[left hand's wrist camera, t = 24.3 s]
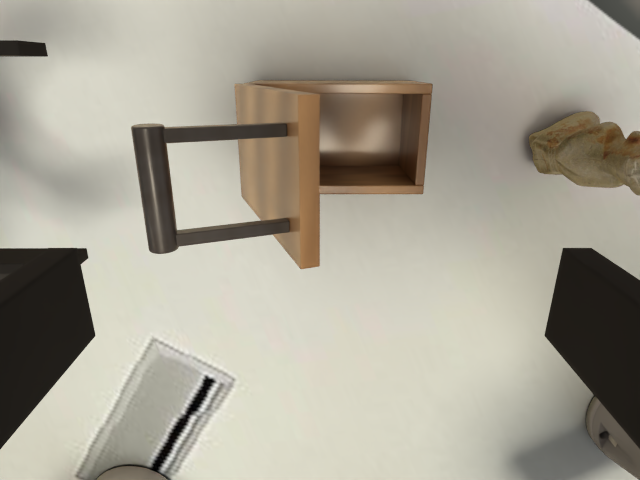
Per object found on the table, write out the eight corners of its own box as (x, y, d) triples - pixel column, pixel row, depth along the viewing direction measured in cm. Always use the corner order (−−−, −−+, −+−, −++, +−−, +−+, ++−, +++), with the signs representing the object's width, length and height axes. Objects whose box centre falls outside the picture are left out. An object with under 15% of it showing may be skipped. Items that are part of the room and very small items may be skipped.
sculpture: (594, 155, 47) (709, 192, 33) (526, 177, 48) (610, 222, 34) (587, 101, 45) (707, 116, 31) (516, 124, 46) (602, 149, 32)
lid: (320, 94, 22) (125, 97, 19) (319, 266, 25) (154, 292, 22) (248, 83, 36) (130, 85, 33) (254, 195, 39) (147, 205, 36)
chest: (410, 80, 45) (432, 83, 36) (404, 171, 48) (423, 194, 39) (257, 80, 45) (242, 83, 36) (261, 171, 48) (249, 194, 39)
